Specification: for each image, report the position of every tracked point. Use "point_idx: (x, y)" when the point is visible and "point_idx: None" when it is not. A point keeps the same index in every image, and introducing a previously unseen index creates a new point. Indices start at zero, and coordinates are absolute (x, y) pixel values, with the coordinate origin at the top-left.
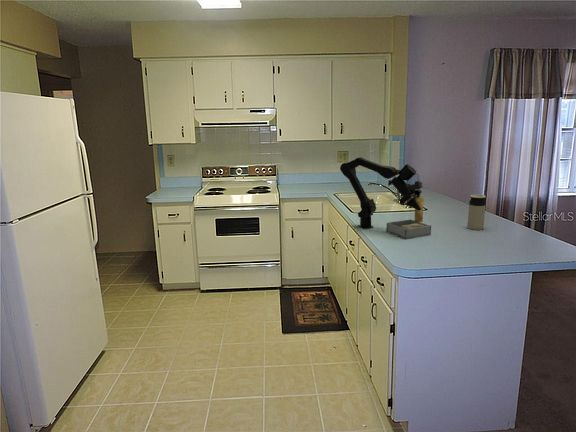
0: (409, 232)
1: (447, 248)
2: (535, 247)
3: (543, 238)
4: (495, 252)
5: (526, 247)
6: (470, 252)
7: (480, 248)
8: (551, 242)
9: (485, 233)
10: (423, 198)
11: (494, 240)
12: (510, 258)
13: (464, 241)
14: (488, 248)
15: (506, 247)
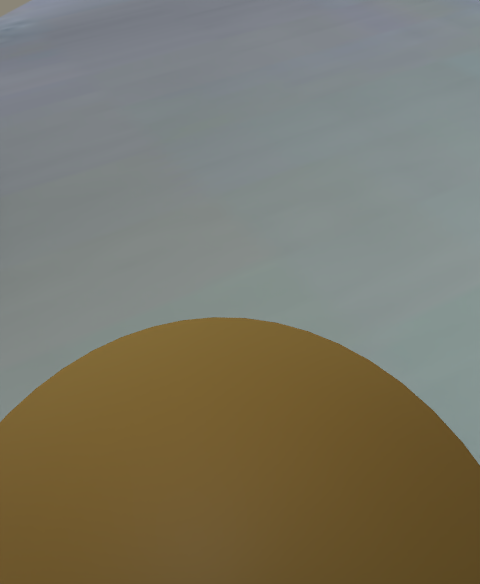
0: None
1: (466, 184)
2: (156, 8)
3: (7, 28)
4: (332, 47)
5: (175, 20)
6: (425, 95)
7: (319, 95)
8: (56, 4)
9: (4, 173)
10: (196, 328)
11: (132, 107)
12: (369, 3)
13: (244, 181)
14: (292, 78)
15: (223, 50)
